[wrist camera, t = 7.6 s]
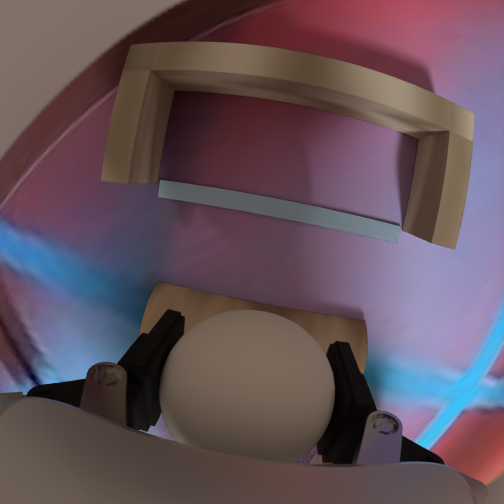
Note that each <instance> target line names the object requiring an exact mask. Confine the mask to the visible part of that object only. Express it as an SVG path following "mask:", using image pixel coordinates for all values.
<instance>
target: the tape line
mask: <svg viewBox="0 0 504 504" xmlns="http://www.w3.org/2000/svg"><path fill="white" fill-rule="evenodd" d="M158 197H161V198H167V199H174V200H180V201H186V202H193V203H199V204H205V205H211V206H216V207H222V208H228V209H234V210H239V211H245V212H250V213H256V214H261V215H266V216H272V217H277V218H282V219H287V220H292V221H297V222H302V223H307V224H312V225H317V226H321V227H326V228H331V229H336V230H340V231H345V232H349V233H354V234H358V235H363V236H367V237H372V238H376V239H380V240H385V241H389V242H393V243H397V241H398V237H399V233H400V229H401V227H400V226H397V225H393V224H389V223H385V222H381V221H377V220H373V219H369V218H365V217H361V216H356V215H352V214H348V213H343V212H339V211H335V210H330V209H326V208H321V207H316V206H312V205H307V204H302V203H297V202H292V201H287V200H282V199H277V198H271V197H266V196H261V195H255V194H250V193H244V192H238V191H232V190H226V189H220V188H214V187H208V186H201V185H194V184H188V183H181V182H173V181H166V180H160V186H159V193H158Z"/></svg>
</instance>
